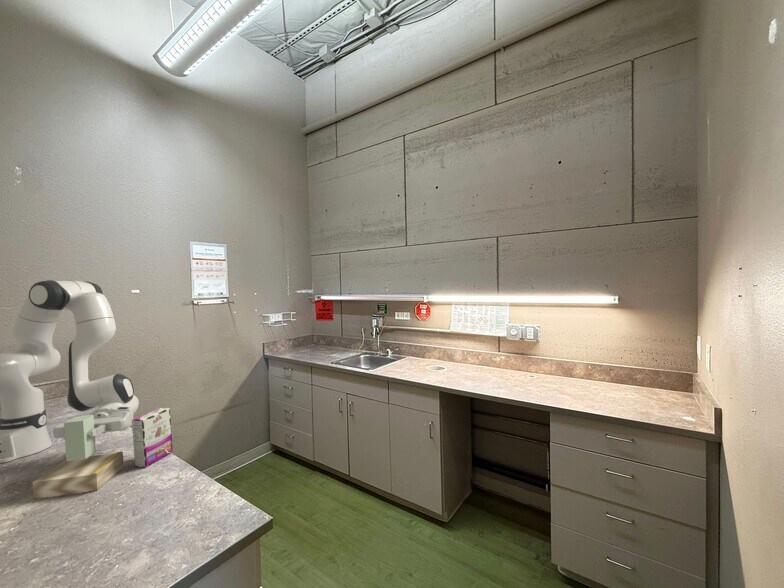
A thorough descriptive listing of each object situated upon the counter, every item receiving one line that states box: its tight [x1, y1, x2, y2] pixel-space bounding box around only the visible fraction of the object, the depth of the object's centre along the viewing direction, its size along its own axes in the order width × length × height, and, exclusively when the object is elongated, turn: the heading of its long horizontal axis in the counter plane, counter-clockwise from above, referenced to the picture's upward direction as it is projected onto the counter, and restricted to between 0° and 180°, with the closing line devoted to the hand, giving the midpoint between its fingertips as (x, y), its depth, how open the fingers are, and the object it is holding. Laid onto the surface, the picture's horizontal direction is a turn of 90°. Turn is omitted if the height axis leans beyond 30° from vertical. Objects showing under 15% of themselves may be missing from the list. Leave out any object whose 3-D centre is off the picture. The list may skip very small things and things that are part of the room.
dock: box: [32, 450, 124, 500], centre depth 107 cm, size 16×14×5 cm
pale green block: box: [63, 414, 97, 461], centre depth 107 cm, size 5×5×12 cm
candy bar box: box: [131, 407, 174, 468], centre depth 120 cm, size 11×5×16 cm, turn 168°
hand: (78, 435), depth 106 cm, fingers closed on pale green block, 5 cm apart
